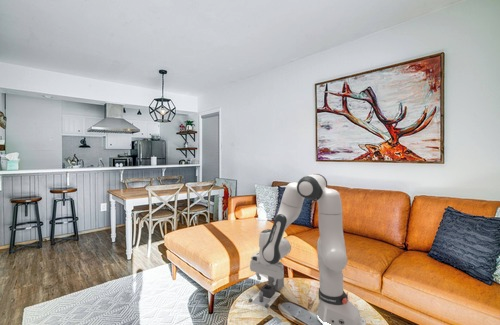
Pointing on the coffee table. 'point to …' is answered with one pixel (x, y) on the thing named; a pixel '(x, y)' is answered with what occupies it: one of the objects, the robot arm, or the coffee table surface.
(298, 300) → the coffee table surface
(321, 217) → the robot arm
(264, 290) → the dark grey hollow block
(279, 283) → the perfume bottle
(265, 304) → the grey peg base plate
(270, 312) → the coffee table surface
